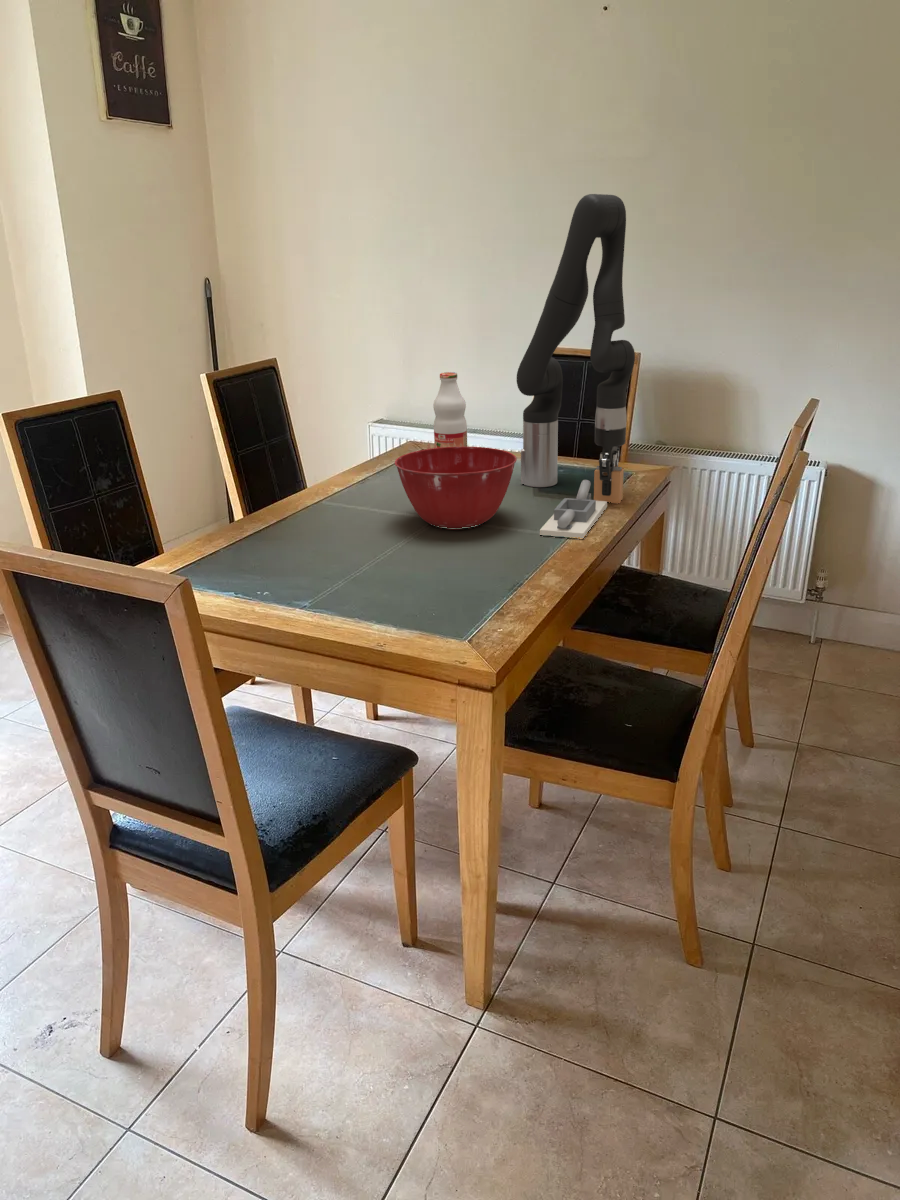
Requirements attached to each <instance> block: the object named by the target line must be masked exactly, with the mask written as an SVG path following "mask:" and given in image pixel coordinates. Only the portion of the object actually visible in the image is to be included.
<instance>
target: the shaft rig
mask: <svg viewBox="0 0 900 1200" xmlns="http://www.w3.org/2000/svg"><path fill="white" fill-rule="evenodd" d="M591 486H592V482H591V481H590V480H588V479H583V480H581V483H580V485H579V488H578V491H577V495H576V498H571V497H569V498H568V497H567V498H566V497H564V498H563V499H562V500H560V502H559V503H558V505H557V506H556V507H555V508H554V509H553V514H552V516H551V517H549V519H548V520H547V521H546V522H545V524H543V525H542V527H541V528H540V529H539V536H540V535H551V536H564V537H577V538H578V537H580V538H584V536H585V535H586V534H587V532H588V531H589V530H590V529H591V527H592V526H593V525H594V526H595V524H596V523H597V522H598V520H599V519H600V518H601V516H602V515H603V513H604V512H605V511H606V509H607V508H608V503H607V501H596V500H594V499H592V493H589V491H590V489H591ZM604 510H605V511H604ZM603 511H604V512H603ZM601 514H602V515H601ZM599 517H600V518H599ZM598 518H599V519H598ZM596 521H597V522H596ZM595 522H596V523H595ZM594 523H595V524H594ZM594 526H593V527H594ZM593 527H592V528H593ZM591 530H592V529H591ZM591 530H590V531H591ZM590 531H589V532H590ZM587 535H588V534H587ZM587 535H586V536H587ZM584 539H585V538H584Z"/></svg>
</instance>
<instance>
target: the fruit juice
mask: <svg viewBox="0 0 900 1200" xmlns="http://www.w3.org/2000/svg"><path fill="white" fill-rule="evenodd" d="M457 380H458V373H457V372H454V371H453V372H451V371H450V372H449V371H446V372H441V373H439V381H440V386H439V389H438V392H437V395H436V397H435V399H434V401H433V406H432V407H433V411H434V414H435V415H434V416H435V418H434V421H433V436H434V437H433V438H434V441H433V443H434V444H435V443H436V445H437V448H440V445H441V443H442V444H443V447H447V444H448V443H449V446H450V447H453V445H454V443H455V444H456V447H459V446H460V443H461V444H462V446H463V447H468V425H467V424H468V423H467V419H466V417H465V412H466V408H467V406H466V405H467V404H466V403H467V402H466V401H465V398H464V397H463V395H462V394H461V391H460V389H459V386H458V383H457V382H458V381H457ZM434 444H433V445H434Z"/></svg>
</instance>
